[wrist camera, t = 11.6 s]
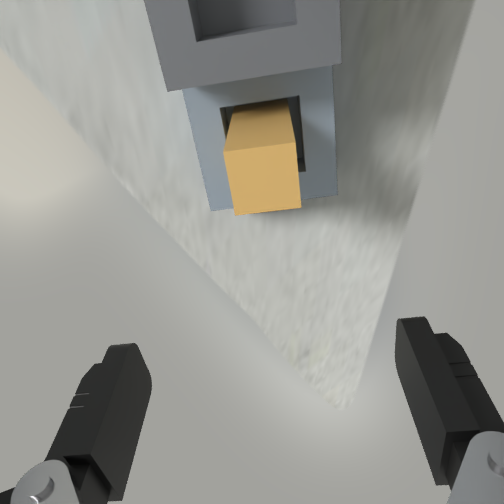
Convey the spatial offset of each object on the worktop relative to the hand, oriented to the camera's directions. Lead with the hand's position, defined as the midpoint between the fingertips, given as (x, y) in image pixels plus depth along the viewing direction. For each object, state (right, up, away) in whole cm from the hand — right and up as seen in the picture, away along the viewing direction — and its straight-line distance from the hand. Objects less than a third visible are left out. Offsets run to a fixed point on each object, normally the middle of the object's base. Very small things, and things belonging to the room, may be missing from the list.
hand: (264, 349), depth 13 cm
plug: (+1, +13, +19) cm, 23 cm away
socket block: (0, +17, +17) cm, 24 cm away
